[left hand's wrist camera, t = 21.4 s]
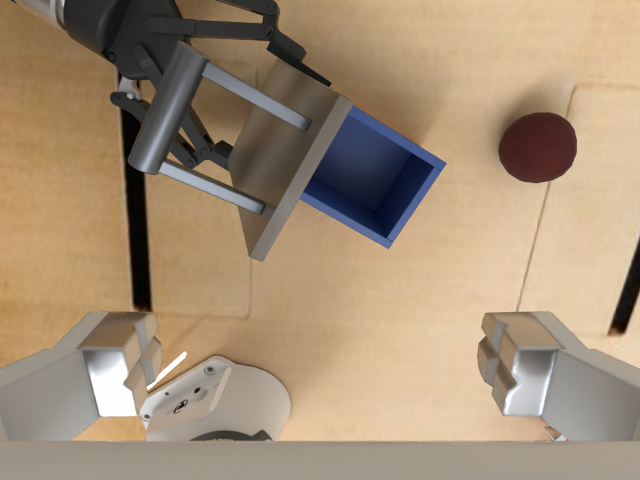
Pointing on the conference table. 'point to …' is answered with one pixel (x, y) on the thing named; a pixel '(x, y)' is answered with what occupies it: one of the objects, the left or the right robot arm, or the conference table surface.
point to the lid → (247, 139)
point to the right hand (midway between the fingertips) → (300, 134)
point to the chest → (371, 178)
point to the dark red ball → (538, 147)
